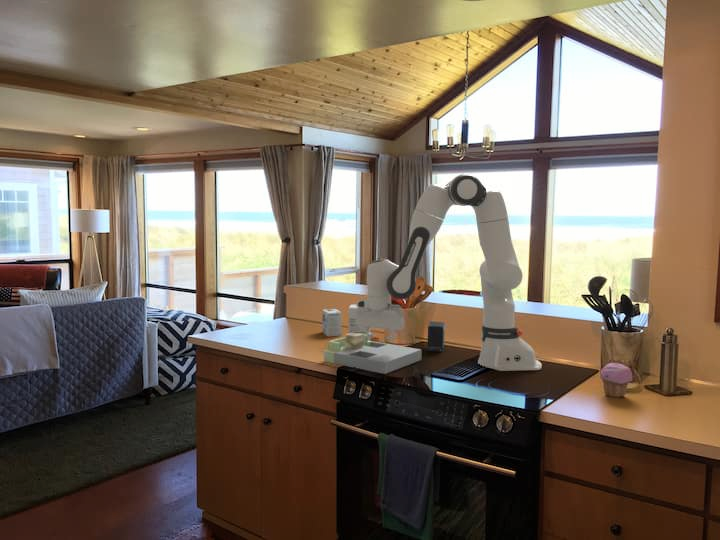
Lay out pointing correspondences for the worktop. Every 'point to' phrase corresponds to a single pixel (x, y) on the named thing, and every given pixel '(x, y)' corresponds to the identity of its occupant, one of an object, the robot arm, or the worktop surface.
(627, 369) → the cupcake
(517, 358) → the robot arm
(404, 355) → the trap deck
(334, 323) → the light bulb box
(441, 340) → the small box
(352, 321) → the supplement box
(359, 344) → the birch block
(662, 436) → the worktop surface
